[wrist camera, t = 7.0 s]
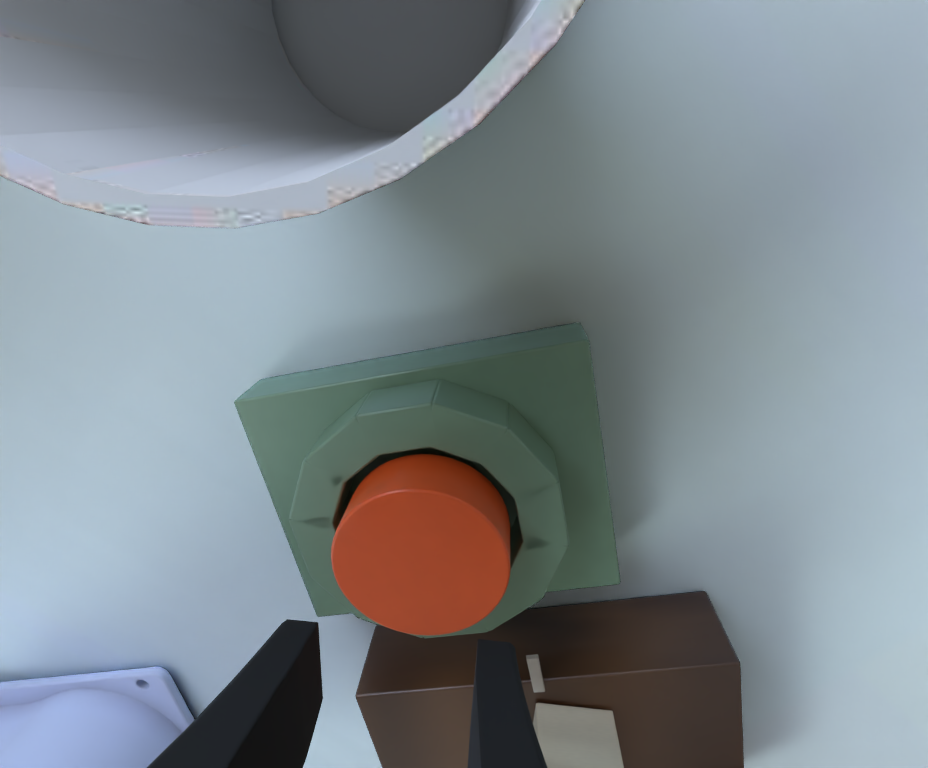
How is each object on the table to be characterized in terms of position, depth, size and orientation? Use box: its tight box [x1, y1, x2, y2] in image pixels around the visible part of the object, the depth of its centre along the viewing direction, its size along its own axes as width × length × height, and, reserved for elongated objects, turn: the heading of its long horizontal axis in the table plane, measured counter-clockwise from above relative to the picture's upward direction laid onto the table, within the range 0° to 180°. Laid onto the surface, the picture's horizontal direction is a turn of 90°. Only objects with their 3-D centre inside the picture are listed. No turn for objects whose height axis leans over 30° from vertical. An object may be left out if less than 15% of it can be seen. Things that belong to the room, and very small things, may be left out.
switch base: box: [356, 591, 744, 768], centre depth 19 cm, size 12×12×3 cm
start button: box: [331, 454, 510, 636], centre depth 14 cm, size 4×4×2 cm
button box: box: [234, 323, 621, 638], centre depth 16 cm, size 10×8×4 cm
